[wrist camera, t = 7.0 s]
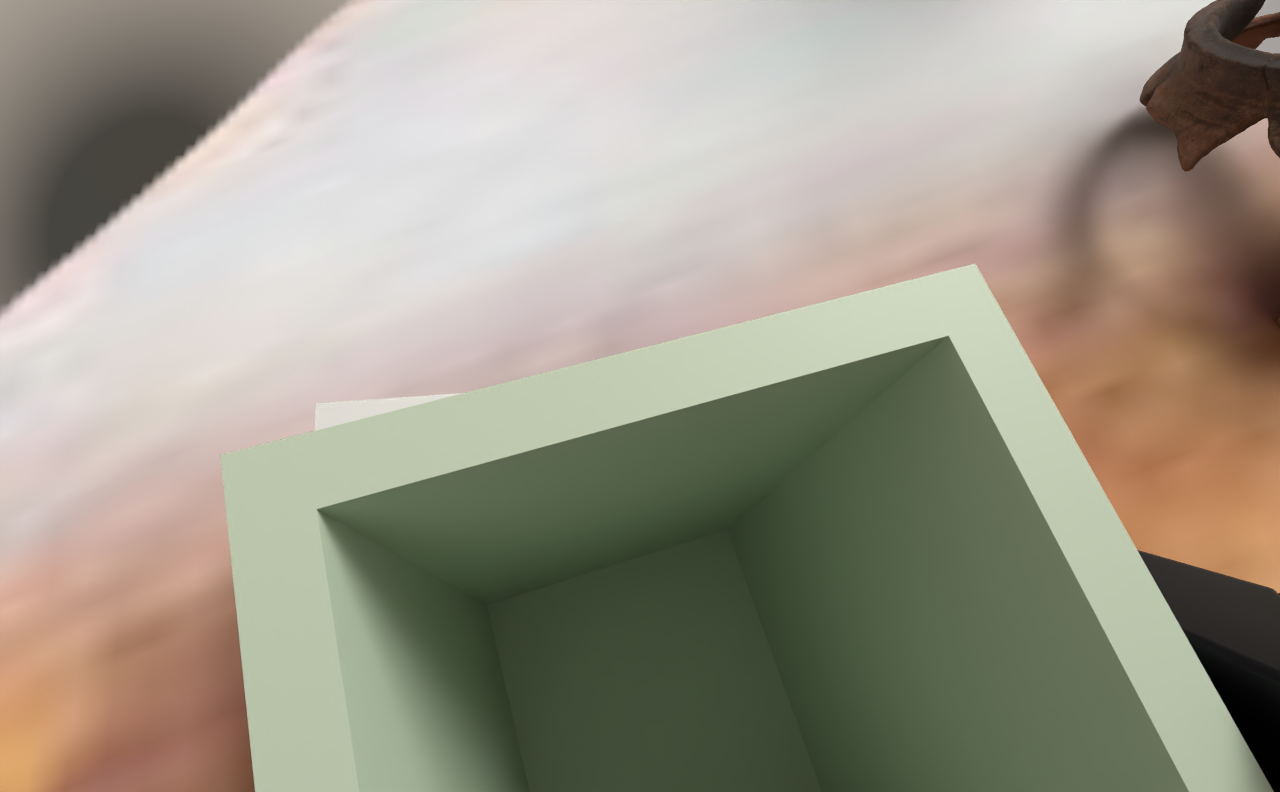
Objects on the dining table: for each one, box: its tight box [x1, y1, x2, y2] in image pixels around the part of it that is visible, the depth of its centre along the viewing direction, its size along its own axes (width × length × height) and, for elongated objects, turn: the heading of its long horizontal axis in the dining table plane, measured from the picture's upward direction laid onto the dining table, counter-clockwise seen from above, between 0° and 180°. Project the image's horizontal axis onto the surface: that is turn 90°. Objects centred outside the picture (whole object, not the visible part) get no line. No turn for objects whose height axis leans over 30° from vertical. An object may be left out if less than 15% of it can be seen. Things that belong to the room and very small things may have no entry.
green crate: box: [220, 264, 1274, 792], centre depth 9 cm, size 6×6×10 cm
